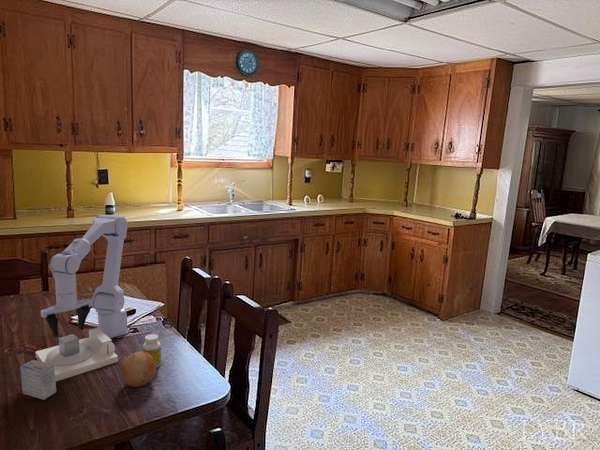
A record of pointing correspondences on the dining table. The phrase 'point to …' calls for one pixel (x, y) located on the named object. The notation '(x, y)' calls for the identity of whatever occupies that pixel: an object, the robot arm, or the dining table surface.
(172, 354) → the dining table surface
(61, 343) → the steel weight
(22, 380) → the medicine box
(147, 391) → the dining table surface
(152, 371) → the onion
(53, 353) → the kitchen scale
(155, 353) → the supplement bottle
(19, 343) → the dining table surface
